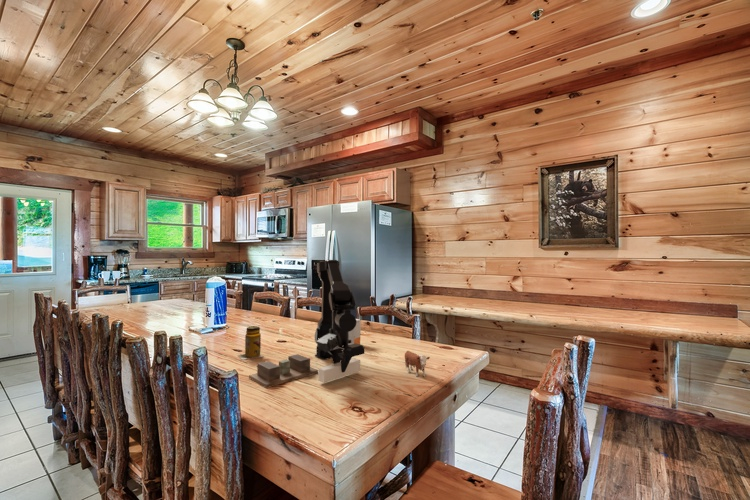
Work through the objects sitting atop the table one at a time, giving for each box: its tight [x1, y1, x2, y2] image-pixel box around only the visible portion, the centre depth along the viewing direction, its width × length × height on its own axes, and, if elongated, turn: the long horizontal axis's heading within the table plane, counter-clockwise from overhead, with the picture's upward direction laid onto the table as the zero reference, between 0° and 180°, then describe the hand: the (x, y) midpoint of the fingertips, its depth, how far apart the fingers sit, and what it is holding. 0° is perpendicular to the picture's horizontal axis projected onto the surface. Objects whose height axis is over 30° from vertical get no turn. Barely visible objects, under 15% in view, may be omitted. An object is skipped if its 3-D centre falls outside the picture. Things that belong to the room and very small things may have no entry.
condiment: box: [237, 325, 264, 361], centre depth 144 cm, size 7×8×12 cm
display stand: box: [248, 353, 318, 389], centre depth 121 cm, size 20×12×5 cm, turn 135°
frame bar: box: [317, 357, 361, 384], centre depth 119 cm, size 16×3×4 cm, turn 135°
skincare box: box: [348, 318, 362, 345], centre depth 162 cm, size 6×4×12 cm
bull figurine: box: [404, 350, 431, 378], centre depth 123 cm, size 4×13×8 cm, turn 25°
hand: (340, 370), depth 119 cm, fingers closed on frame bar, 3 cm apart
